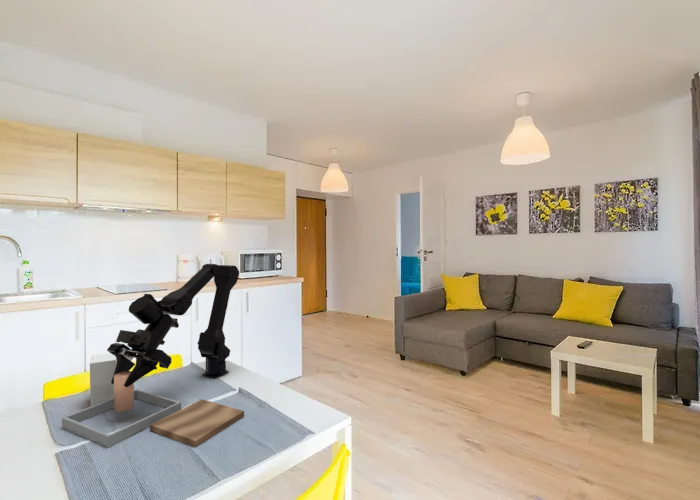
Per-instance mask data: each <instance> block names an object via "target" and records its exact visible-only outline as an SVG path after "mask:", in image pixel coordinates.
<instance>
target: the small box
mask: <svg viewBox="0 0 700 500" xmlns="http://www.w3.org/2000/svg"><path fill="white" fill-rule="evenodd" d="M116 365H117V359H116V357H115V356H114V355H112V354H111V353H110V352H108V353H102V354H94V355H92V356H91V359H90V361H89V389H90V390H89V391H90V393H89V394H90V398H89V401H90V405H89V407H92V406H94V405H97V404H99V403H102V402H105V401H107V400H110V399H112V398H114V384H112V383H111V381H112V378H113V375H114V372H115V368H116Z"/></svg>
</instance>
